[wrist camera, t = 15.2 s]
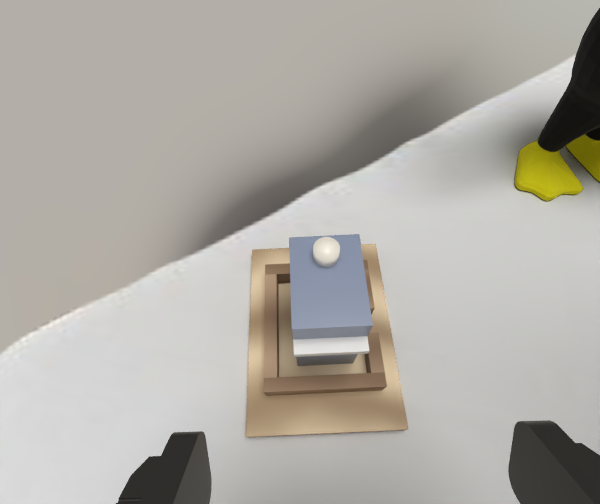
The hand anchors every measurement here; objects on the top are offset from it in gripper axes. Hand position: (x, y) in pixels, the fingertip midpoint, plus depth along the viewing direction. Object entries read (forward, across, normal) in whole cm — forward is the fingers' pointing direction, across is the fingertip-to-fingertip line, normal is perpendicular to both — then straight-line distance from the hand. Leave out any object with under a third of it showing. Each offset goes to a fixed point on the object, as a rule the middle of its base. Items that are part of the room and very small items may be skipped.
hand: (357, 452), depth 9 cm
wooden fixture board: (+20, 0, +7) cm, 21 cm away
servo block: (+19, 0, +7) cm, 20 cm away
